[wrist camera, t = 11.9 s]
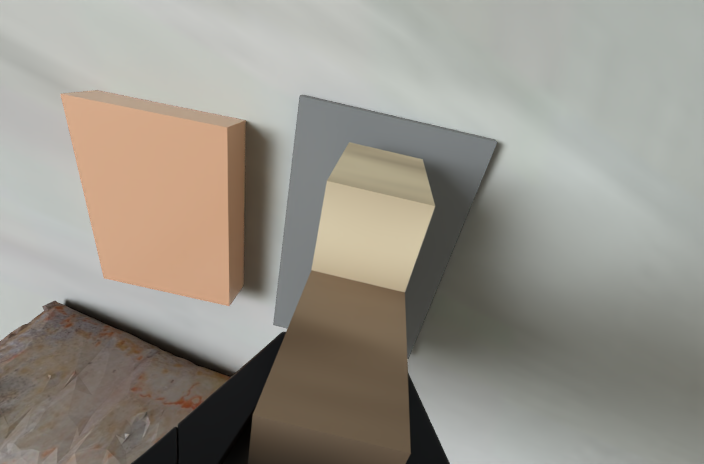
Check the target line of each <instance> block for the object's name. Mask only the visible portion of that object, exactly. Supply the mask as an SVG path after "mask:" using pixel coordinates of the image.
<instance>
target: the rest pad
mask: <svg viewBox="0 0 704 464" xmlns="http://www.w3.org/2000/svg"><path fill="white" fill-rule="evenodd" d="M349 142H351V143H355V144H359V145H363V146H368V147H372V148H376V149H381V150H385V151H389V152H393V153H398V154H402V155H406V156H411V157H415V158H419V159H423V162H424V166H425V170H426V173H427V177H428V181H429V185H430V188H431V192H432V196H433V200H434V203H435V208H434V211H433V214H432V217H431V220H430V223H429V225H428V228H427V231H426V234H425V237H424V240H423V242H422V245H421V248H420V251H419V254H418V257H417V259H416V262H415V265H414V268H413V271H412V274H411V276H410V279H409V282H408V285H407V288H406V291H405V311H406V338H407V359H409V356H410V354H411V351H412V349H413V346H414V344H415V342H416V339H417V337H418V334H419V332H420V329H421V327H422V325H423V322H424V320H425V317H426V315H427V312H428V310H429V308H430V305H431V303H432V300H433V298H434V295H435V293H436V290H437V288H438V286H439V283H440V281H441V278H442V276H443V273H444V271H445V269H446V266H447V264H448V261H449V259H450V256H451V254H452V251H453V249H454V247H455V244H456V242H457V239H458V237H459V234H460V232H461V230H462V227H463V225H464V222H465V220H466V217H467V215H468V212H469V210H470V208H471V205H472V203H473V200H474V198H475V195H476V193H477V191H478V188H479V186H480V183H481V181H482V178H483V176H484V173H485V171H486V169H487V166H488V164H489V161H490V159H491V156H492V154H493V152H494V149H495V147H496V144H497V141H496V140H494V139H490V138H486V137H482V136H477V135H473V134H469V133H464V132H460V131H456V130H452V129H447V128H443V127H439V126H434V125H430V124H426V123H422V122H417V121H413V120H409V119H405V118H400V117H396V116H392V115H387V114H383V113H379V112H375V111H370V110H366V109H362V108H357V107H353V106H349V105H345V104H340V103H336V102H332V101H327V100H323V99H319V98H315V97H310V96H306V95H300V97H299V106H298V114H297V123H296V132H295V140H294V149H293V158H292V166H291V175H290V184H289V192H288V201H287V210H286V218H285V227H284V236H283V244H282V253H281V262H280V271H279V279H278V288H277V297H276V305H275V314H274V323H273V325H275V326H279V327H283V328H287V329H288V327H289V324H290V322H291V319H292V317H293V314H294V312H295V309H296V307H297V304H298V302H299V299H300V297H301V295H302V292H303V290H304V287H305V285H306V282H307V280H308V277H309V275H310V272H311V269H312V264H313V258H314V252H315V246H316V241H317V235H318V229H319V223H320V218H321V212H322V206H323V200H324V195H325V189H326V183H327V180H328V178H329V176H330V175H331V173H332V171H333V169H334V168H335V166H336V164H337V162H338V161H339V159H340V157H341V156H342V154H343V152H344V150H345V149H346V147H347V145H348V143H349Z"/></svg>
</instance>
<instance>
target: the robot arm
mask: <svg viewBox="0 0 704 464" xmlns="http://www.w3.org/2000/svg"><path fill="white" fill-rule="evenodd" d="M285 334H286V332H282V333H281V334H279V335H278V336H277V337H276V338H275V339H274V340H272V341H271V342H270V343H269V344H268V345H267V346H266V347H265V348H263V349H262V350H261V351H260V352H259V353H258V354H257V355H255V356H254V357H253V358H252V359H251V360H250V361H249V362H247V363H246V364H245V365H244V366H243V367H242V368H241V369H240V370H238V371H237V372H236V373H235V374H234V375H233V376H232V377H230V378H229V379H228V380H227V381H226V382H225V383H224V384H222V385H221V386H220V387H219V388H218V389H217V390H216V391H214V392H213V393H212V394H211V395H210V396H209V397H208V398H207V399H205V400H204V401H203V402H202V403H201V404H200V405H199V406H197V407H196V408H195V409H194V410H193V411H192V412H191V413H189V414H188V415H187V416H186V417H185V418H184V419H183V420H182V421H180V422H179V423H178V425H177V427H176V426H175V427H173V428H172V429H171V430H170V431H169V432H168V433H167V434H165V435H164V436H163V437H162V438H161V439H160V440H159V441H157V442H156V443H155V444H154V445H153V446H151V447H150V448H149V449H148V450H147V451H145V452H144V453H143V454H142V455H141V456H139V457H138V458H137V459H136V460H135V461H133V462H132V463H131V464H248V459H249V449H250V438H251V427H252V416H253V413H254V410H255V408H256V406H257V403H258V401H259V398H260V396H261V393H262V391H263V388H264V386H265V383H266V381H267V378H268V376H269V373H270V371H271V369H272V366H273V364H274V361H275V359H276V356H277V354H278V351H279V349H280V346H281V344H282V341H283V339H284V336H285ZM408 393H409V420H410V448H411V454H410V456H409V458H408V460H407V462H406V464H450V463H449V461H448V459H447V456H446V454H445V452H444V450H443V448H442V446H441V443H440V441H439V439H438V437H437V435H436V432H435V430H434V428H433V426H432V424H431V422H430V419H429V417H428V415H427V413H426V411H425V408H424V406H423V404H422V402H421V400H420V398H419V395H418V393H417V391H416V389H415V387H414V384H413V382H412V380H411V378H410V376H409V374H408Z"/></svg>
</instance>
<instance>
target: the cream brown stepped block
mask: <svg viewBox="0 0 704 464" xmlns="http://www.w3.org/2000/svg"><path fill="white" fill-rule="evenodd" d="M434 208H435V203H434V200H433V196H432V192H431V188H430V185H429V181H428V177H427V173H426V170H425V166H424V162H423V159H419V158H415V157H411V156H406V155H402V154H398V153H393V152H389V151H385V150H381V149H376V148H372V147H368V146H363V145H359V144H355V143H351V142H349V143H348V145H347V147H346V149H345V150H344V152H343V154H342V156H341V157H340V159H339V161H338V162H337V164H336V166H335V168H334V169H333V171H332V173H331V175H330V176H329V178H328V180H327V183H326V189H325V195H324V200H323V206H322V212H321V218H320V223H319V229H318V235H317V241H316V246H315V252H314V258H313V264H312V269H311V272H310V275H309V277H308V280H307V282H306V285H305V287H304V290H303V292H302V295H301V297H300V299H299V302H298V304H297V307H296V309H295V312H294V314H293V317H292V319H291V322H290V324H289V327H288V329H287V332H286V334H285V336H284V339H283V341H282V344H281V346H280V349H279V351H278V354H277V356H276V359H275V361H274V364H273V366H272V369H271V371H270V373H269V376H268V378H267V381H266V383H265V386H264V388H263V391H262V393H261V396H260V398H259V401H258V403H257V406H256V408H255V410H254V413H253V416H252V427H251V438H250V449H249V459H248V464H406V462H407V460H408V458H409V456H410V454H411V448H410V420H409V393H408V366H407V338H406V311H405V291H406V288H407V285H408V282H409V279H410V276H411V274H412V271H413V268H414V265H415V262H416V259H417V257H418V254H419V251H420V248H421V245H422V242H423V240H424V237H425V234H426V231H427V228H428V225H429V223H430V220H431V217H432V214H433V211H434Z"/></svg>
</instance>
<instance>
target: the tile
mask: <svg viewBox="0 0 704 464" xmlns="http://www.w3.org/2000/svg"><path fill="white" fill-rule="evenodd" d="M61 98H62V102H63V106H64V111H65V115H66V119H67V123H68V128H69V132H70V136H71V140H72V145H73V149H74V153H75V157H76V162H77V166H78V170H79V174H80V179H81V183H82V187H83V191H84V196H85V200H86V204H87V208H88V213H89V217H90V221H91V225H92V230H93V234H94V238H95V242H96V247H97V251H98V255H99V259H100V264H101V268H102V272H103V276H104V278H105V279H110V280H114V281H119V282H123V283H128V284H132V285H137V286H141V287H146V288H150V289H155V290H159V291H164V292H168V293H173V294H177V295H182V296H186V297H191V298H195V299H200V300H204V301H209V302H213V303H218V304H222V305H227V306H230V304H231V303H232V302H233V300H234V299H235V297H236V296H237V294H238V293H239V292H240V290H241V289H242V287H243V286H244V212H245V133H246V120H241V119H237V118H232V117H227V116H222V115H217V114H212V113H207V112H202V111H197V110H192V109H187V108H182V107H177V106H172V105H167V104H163V103H158V102H153V101H148V100H143V99H138V98H133V97H128V96H123V95H118V94H113V93H108V92H103V91H98V90H94V91H83V92H73V93H63V94H61Z"/></svg>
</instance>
